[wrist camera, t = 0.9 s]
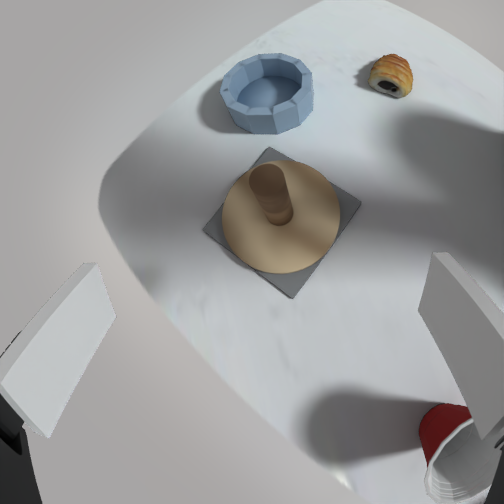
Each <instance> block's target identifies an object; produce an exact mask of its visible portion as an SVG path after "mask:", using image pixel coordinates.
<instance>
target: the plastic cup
mask: <svg viewBox="0 0 504 504" xmlns="http://www.w3.org/2000/svg"><path fill="white" fill-rule="evenodd" d="M503 435H504V427H503V428H502V429H501V430H500V431H499V432H498V433H497V434H494V435H492V436H490V437H488V438H485V439H483V440H481V438H480V436H479V433H478V431H477V428H476V426H475V423H474V421H473V418H472V416H471V414H470V411H469V409H468V407H465V406H461V405H453V404H449V403H447V404H441V405H437V406H436V407H434V408H432V409H431V410H430V411H429V412H428V413H427V414H426V415H425V416H424V418H423V420H422V421H421V423H420V428H419V436H420V440H421V443H422V447H423V451H424V455H425V458H426V462H427V472H426V475H425V479H424V483H425V488H426V492H427V495H428V496H429V497H430V498H431V499H433V500H434V501H435V502H436V503H440V504H457V503H461V502H465V501H468V500H471V499H473V498H474V497H476V496H478V495H479V494H481V493H483V492H484V491H486V490H488V489H489V488H490V487H491V485H492V482H493V479H494V476H495V473H496V470H497V467H498V463H499V460H500V456H501V453H502V450H500V448H501V447H502V446H503V445H504V441H503V442H502V443H501V444H500V445H499V446H498V447H497V448H494V446H495V444H496V442H497V441H498V440H499V439H500V438H501V437H502V436H503Z"/></svg>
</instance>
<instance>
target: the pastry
mask: <svg viewBox="0 0 504 504" xmlns="http://www.w3.org/2000/svg"><path fill="white" fill-rule="evenodd" d="M412 82H413V75H412V72H411V69H410V66H409V64H408V62H407V60H405V59H404V58H402V57H399V56H398V55H396V54H389V55H386V56H385V55H384V56H383V57H382V58H380V59H379V60H378V61H377V62H376V63H375V64H374V65H373V68H372V69H371V73H370V78H369V79H368V83H369V85H370V86H371V87H372V88H374V89H375V90H377V91H379V92H382V93H387V94H390V95H392V96H395V97H397V98H401V97H405V96H406V95H408V93H410V92H411V90H412Z"/></svg>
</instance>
